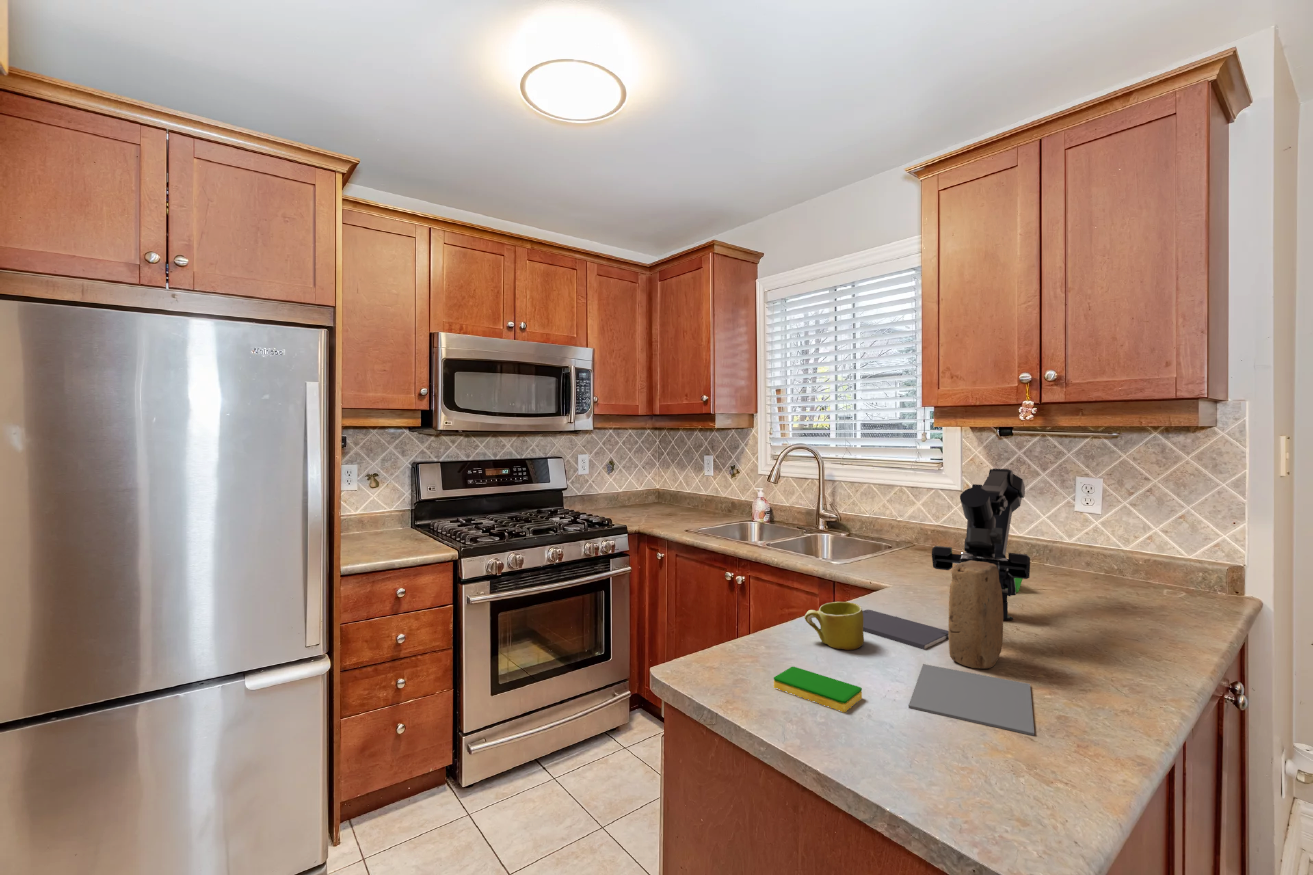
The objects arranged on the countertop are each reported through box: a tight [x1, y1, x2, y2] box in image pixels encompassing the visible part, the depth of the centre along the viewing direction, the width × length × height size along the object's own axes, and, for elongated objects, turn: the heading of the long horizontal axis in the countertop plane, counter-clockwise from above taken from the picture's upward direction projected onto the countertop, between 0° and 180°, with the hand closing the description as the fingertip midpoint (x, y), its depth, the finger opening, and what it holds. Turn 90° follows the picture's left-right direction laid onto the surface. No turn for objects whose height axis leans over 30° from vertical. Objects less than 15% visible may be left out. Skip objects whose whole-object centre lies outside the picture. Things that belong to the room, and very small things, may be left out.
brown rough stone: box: [948, 560, 1004, 670], centre depth 120 cm, size 11×8×20 cm
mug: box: [804, 601, 865, 651], centre depth 130 cm, size 12×10×10 cm
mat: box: [908, 663, 1035, 737], centre depth 105 cm, size 20×18×1 cm
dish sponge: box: [773, 666, 863, 713], centre depth 106 cm, size 7×14×2 cm, turn 47°
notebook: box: [862, 609, 949, 651], centre depth 139 cm, size 13×2×21 cm
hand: (977, 595), depth 125 cm, fingers closed
